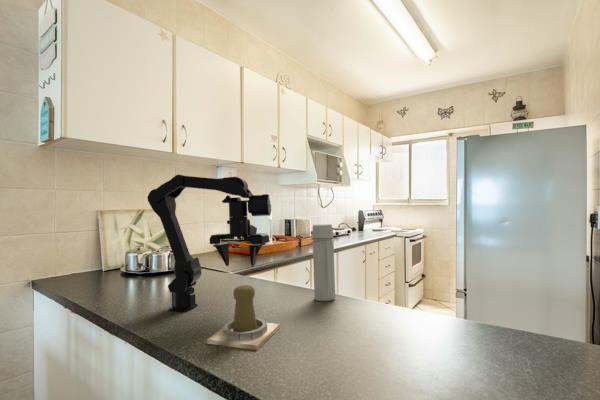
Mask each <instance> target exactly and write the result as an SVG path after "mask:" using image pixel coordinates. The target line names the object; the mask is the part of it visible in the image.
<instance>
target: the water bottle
mask: <svg viewBox="0 0 600 400" xmlns="http://www.w3.org/2000/svg"><path fill="white" fill-rule="evenodd" d="M311 235H312V236H311V240H312V263H313V285H314V286H313V290H314V293H313V294H314V295H313V296H314V299H315V300H316V301H319V302H330V301H333V300H335V299H336V280H335V277H336V276H335V274H336V273H335V252H334V251H335V249H334V248H335V247H334V244H335V243H334V242H335V241H336V239H335V238H334V231H333V225H332V224H331V223H330V224H329V223H328V224H327V223H322V224H320V223H317V224H313V225H312V234H311Z"/></svg>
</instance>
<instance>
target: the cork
mask: <svg viewBox="0 0 600 400" xmlns="http://www.w3.org/2000/svg"><path fill="white" fill-rule="evenodd" d="M255 291H256V290H255V288H254V286H253V285H249V284H244V285H238V286H236V287H235V288H234V290H233V298H234V300H235V307H234V316H233V320H234V325H233V331H234V332H248V331H253V330H256V329H257V323H256V318H257V317H256V311H255V305H254V297H255V295H256V294H255V293H256V292H255Z"/></svg>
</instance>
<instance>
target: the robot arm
mask: <svg viewBox="0 0 600 400" xmlns="http://www.w3.org/2000/svg"><path fill="white" fill-rule="evenodd" d="M186 188H189V189H199V190H200V189H201V190H210V191H211V190H212V191H217V192H221V193H225V194H229V195H226V196H225V198H224V199H223V200H221V203H222V204H228V219H229V220H226V224H227V225H229V233H218V234H217V233H216V234H211V235H210V237H209V245H212V246H213V247H214V248H215V249H216V250H217V252H218V253H219V255H220V257H221V258H222V261H223V262H224V264H225V266H226V267H228V266H229V265H230V253H229V252H230V251H229V250H230V245H231V242H232V243H233V242H235V243H236V242H237V243H239V242H240V243H241V242H243V243H244V242H247V243H251V244H250V245H248V249H249V257H250V258H249V259H250V265H251V267H255V266H256V265H255V264H256V262H257V258H258V255H259V253H260V250H261V248H262V247H263V246H266V244H267V243H270V236H269V234H268V232H267V233H266V232H264V233H257V230H258V228H257V227H256V226H254V225H252V224H251V220H250V219H248V214H251V216H252V217H267V216H271V215H272V204H271V200H270V194H268V193H264V194H255V195H254V193H252V191H251V190H250V189H249V184H248V182H247V180H245V179H243V178H242V177H241V178H240V177H238V176H229V177H226V176H225V177H221V178H213V177H201V176H190V175H183V174H176V175H174V176H173V177H172V178H171V179H169V180H168V181H167V180H166V181H165V182H164V183H162V184H161V185H159V186H158V187H157V188H153V189H152V190H150V192H149V193H148V195H147V202H148V203H149V205H150V207H151V210H152V211H153V212H154V213H155V214H156V215H157V217H159V220H160V221H161V225H162V227H163V230H164V233H165V236H166V238H167V241H168V243H169V247H170V249H171V253H172V256H173V258H174V267H173V268H174V269H173V271H174V276H175V277H174V279H173V280H172V281H171V282H170V283H169V284H167V287H168V290H169V293H171V307H169V308H168V311H174V312H187V311H190V310H192V309H193V308H196V307H197V306H198V303H196V293H195V286H196V285H197V281H199V279H200V278H201V276H202V269H203V266H201V263H200V259H199V257H198V256H197V257H193V256H192V255H191V254H190V252H189V248H188V245H187V243H186V241H185V237H184V235H183V231H182V228H181V226H180V223H179V220H178V217H177V214H176V210H177V209H176V208H177V203H176V198H178V197H179V196H180V195H181V194H182V193H183V191H184V190H185V189H186ZM231 196H238V197H231ZM241 198H243V199H245V200H242V199H241ZM246 199H247V200H246Z"/></svg>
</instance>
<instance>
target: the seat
mask: <svg viewBox="0 0 600 400" xmlns="http://www.w3.org/2000/svg"><path fill="white" fill-rule="evenodd" d="M256 323H257V329H256V330H253V331H248V332H234V331H233V325H234V319H232V320H230V321H228V322H226V323H225V324H223V327H222V328H221V329H220V330H218V331H217V332H215V333H214V334H213V335H211V336H210V337H208V338H207V339H206V344H207V345H208V344H209V345H216V346H222V347H230V348H231V347H232V348H236V349H237V348H238V349H244V350H245V349H246V350H254V351H259V349H260V348H261V347H262V346H263V345H265V343H266V342H268V340H270V339H271V337H273V336H274V335H275V333H276V332H278V331H279V330H280V328H281V324H280V323H274V322H273V323H272V322H267V320H265V319H264V318H263V319H262V318H260V317H256Z"/></svg>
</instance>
